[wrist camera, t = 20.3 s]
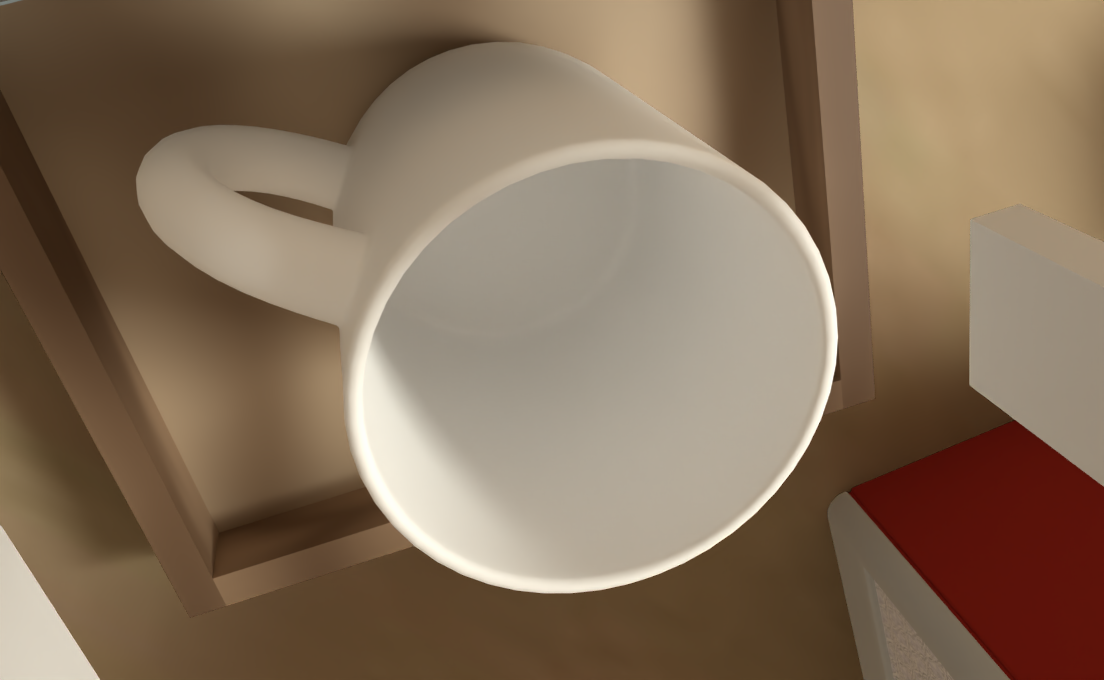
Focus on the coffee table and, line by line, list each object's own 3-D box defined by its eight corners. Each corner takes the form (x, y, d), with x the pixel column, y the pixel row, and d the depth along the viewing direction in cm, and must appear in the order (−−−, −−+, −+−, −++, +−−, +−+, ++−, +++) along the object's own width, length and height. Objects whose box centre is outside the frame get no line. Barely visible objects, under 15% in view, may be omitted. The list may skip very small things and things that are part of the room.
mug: (137, 262, 23) (25, 512, 14) (222, -86, 20) (150, -54, 11) (579, 376, 27) (713, 625, 18) (699, 101, 24) (927, 234, 15)
